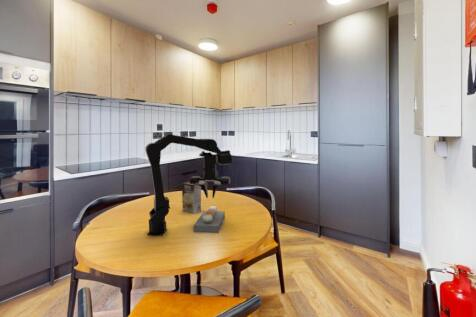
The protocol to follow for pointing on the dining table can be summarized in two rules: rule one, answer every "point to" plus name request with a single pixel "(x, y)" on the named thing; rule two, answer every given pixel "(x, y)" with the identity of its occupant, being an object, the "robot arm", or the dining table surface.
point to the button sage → (207, 218)
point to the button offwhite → (213, 208)
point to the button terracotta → (210, 212)
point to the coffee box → (191, 197)
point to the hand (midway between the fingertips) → (210, 197)
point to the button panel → (210, 223)
